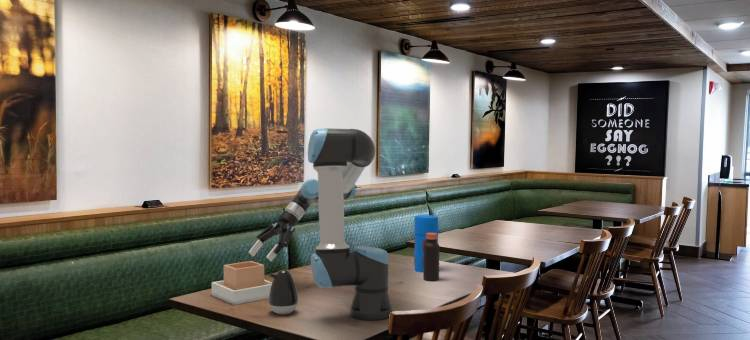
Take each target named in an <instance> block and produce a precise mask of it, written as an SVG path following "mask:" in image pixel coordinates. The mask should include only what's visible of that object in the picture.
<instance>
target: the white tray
mask: <svg viewBox="0 0 750 340" xmlns="http://www.w3.org/2000/svg"><path fill="white" fill-rule="evenodd" d="M272 282H273V281H269V280H266V279H264V285H263V286H257V287H252V288H246V289H241V290H236V291H235V290H232V289H230V288H227V287H225V286H224V279H223V280H219V281H218V280H217V281H211V295H212V297H215V298H218V299H219V300H222V301H224V302H226V303H228V304H230V305H233V306H236V305H242V304H247V303H250V302H251V303H252V302H256V301H260V300H261V301H262V300H266V299H269V294H270V288H271V285H272Z"/></svg>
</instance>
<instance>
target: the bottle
mask: <svg viewBox="0 0 750 340" xmlns="http://www.w3.org/2000/svg"><path fill="white" fill-rule="evenodd" d="M426 240H427V242H426V243H425V244H424V267H423V272H422V273H423V274H422V275H423V276H422V277H423V280H424V281H428V282H437V281H439V280H440V244H439V242H438V243H437V242H436V240H437V233H426Z"/></svg>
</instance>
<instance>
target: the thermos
mask: <svg viewBox="0 0 750 340" xmlns="http://www.w3.org/2000/svg"><path fill="white" fill-rule="evenodd" d="M426 233H437V240H436V242H437V243H438V244H439V217H438V215H431V214H419V215H415V216H414V239H413V240H414V241H413V243H414V245H413V246H414V247H413V248H414V250H413V255H414V256H413V261H414V262H413V264H414V266H413V267H414V271H415V272H418V273H423V267H424V244H425V243H426V242H427V240H426Z"/></svg>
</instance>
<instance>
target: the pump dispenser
mask: <svg viewBox="0 0 750 340" xmlns="http://www.w3.org/2000/svg"><path fill="white" fill-rule="evenodd" d="M269 277H270V278H273V279H272V281H271V282H272V285H271V288H270V294H269V298H268V305H269V307H270V309H271V310H272V312H274V313H276V315H289V314H291V313H293V312H294V311H295V310H296V308H297V305H298V303H299V294H298V288H297V284H296V282H295V279H294V277H293V275H292V274H291V272H290V271H289V270H287V269H285V268H284V269H280V270H278V271H277V272H276V274H275V273H269Z"/></svg>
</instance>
